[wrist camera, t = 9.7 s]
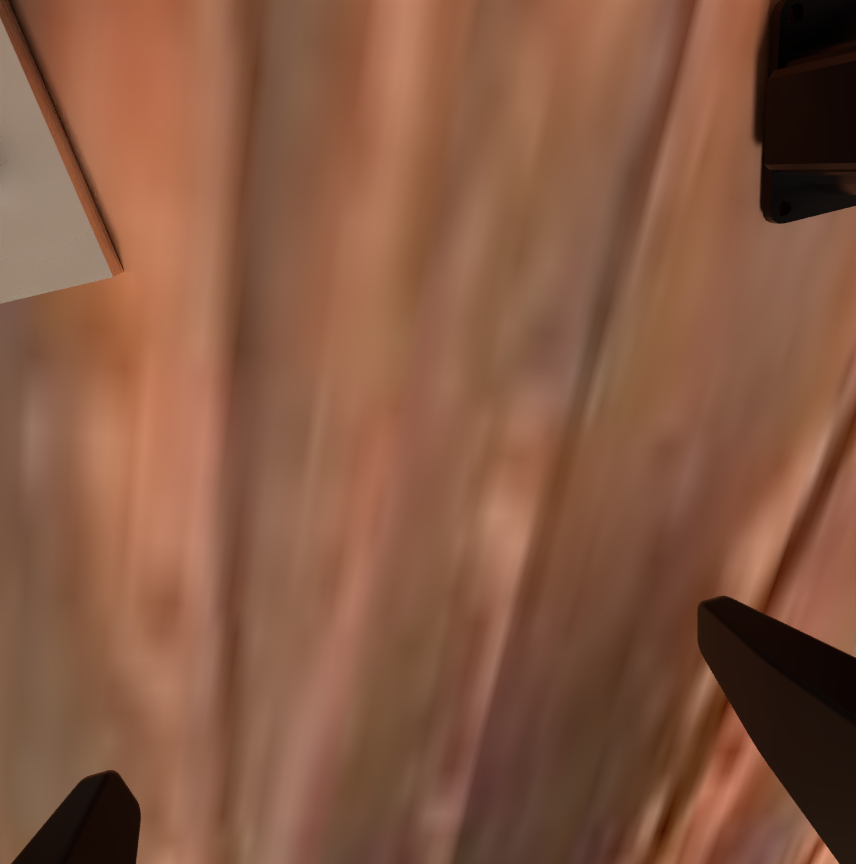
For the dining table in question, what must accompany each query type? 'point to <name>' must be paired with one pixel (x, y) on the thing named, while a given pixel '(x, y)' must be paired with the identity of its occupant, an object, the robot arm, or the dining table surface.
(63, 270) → the stud block
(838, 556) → the dining table surface
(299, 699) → the dining table surface
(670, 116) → the dining table surface
